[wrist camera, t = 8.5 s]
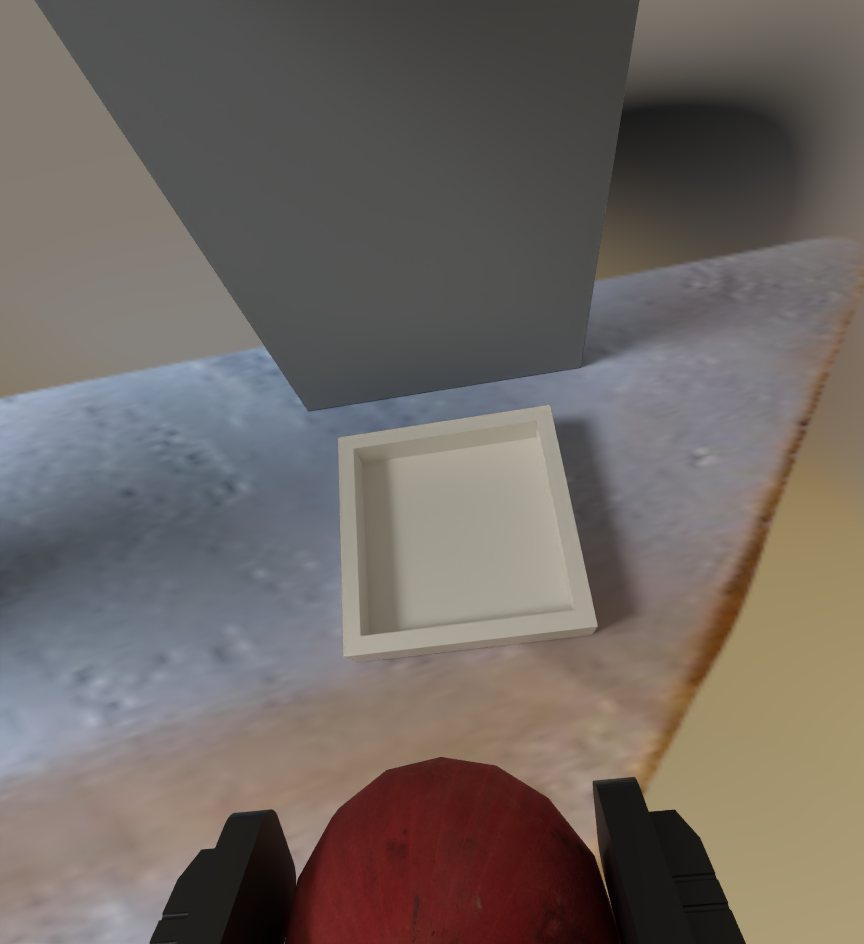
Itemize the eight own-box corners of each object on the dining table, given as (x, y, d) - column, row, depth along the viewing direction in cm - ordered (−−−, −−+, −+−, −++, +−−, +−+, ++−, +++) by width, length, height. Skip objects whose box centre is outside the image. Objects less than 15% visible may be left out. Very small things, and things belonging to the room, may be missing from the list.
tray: (591, 635, 26) (597, 626, 24) (357, 662, 27) (343, 656, 25) (548, 426, 31) (550, 404, 29) (350, 456, 32) (338, 437, 30)
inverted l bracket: (627, 553, 27) (1513, -948, 3) (307, 595, 29) (-897, -178, 4) (576, 350, 33) (738, -797, 8) (307, 394, 34) (-238, -471, 10)
